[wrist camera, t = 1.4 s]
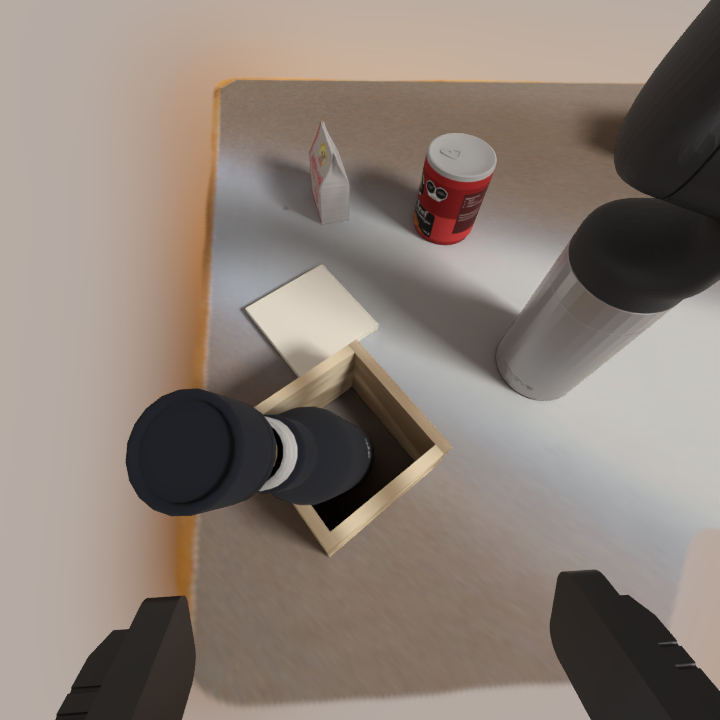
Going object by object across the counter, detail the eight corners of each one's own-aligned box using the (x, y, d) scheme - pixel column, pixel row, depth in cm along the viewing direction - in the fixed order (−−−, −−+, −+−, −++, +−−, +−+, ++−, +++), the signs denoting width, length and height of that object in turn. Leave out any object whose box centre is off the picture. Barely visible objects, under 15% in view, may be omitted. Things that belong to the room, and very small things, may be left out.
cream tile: (322, 269, 54) (322, 263, 53) (377, 328, 50) (378, 324, 49) (246, 312, 50) (245, 308, 49) (300, 380, 46) (299, 376, 46)
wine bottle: (297, 457, 42) (46, 455, 13) (341, 409, 43) (191, 309, 14) (343, 504, 41) (172, 616, 12) (388, 454, 41) (329, 444, 12)
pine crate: (353, 375, 47) (356, 339, 40) (433, 468, 43) (452, 446, 36) (252, 446, 43) (235, 419, 36) (329, 557, 39) (327, 552, 31)
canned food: (412, 202, 60) (427, 129, 50) (469, 207, 60) (495, 135, 50) (411, 244, 56) (427, 173, 46) (471, 249, 56) (499, 180, 46)
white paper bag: (337, 185, 61) (337, 118, 52) (348, 220, 58) (350, 155, 49) (311, 189, 60) (307, 122, 51) (322, 224, 57) (319, 159, 48)
